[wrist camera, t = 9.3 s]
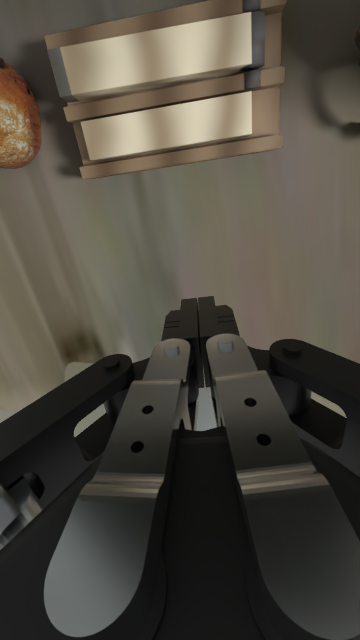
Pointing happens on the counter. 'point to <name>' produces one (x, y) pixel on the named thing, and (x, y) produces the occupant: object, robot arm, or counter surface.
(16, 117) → the bread roll
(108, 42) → the hinged leg
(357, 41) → the pottery mug
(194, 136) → the wooden slat frame
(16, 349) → the counter surface
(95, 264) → the counter surface
